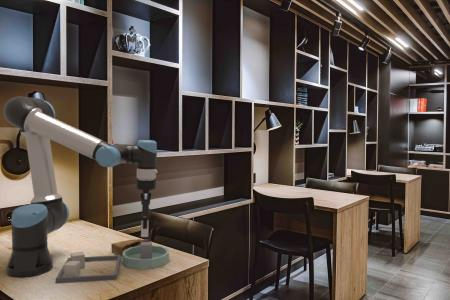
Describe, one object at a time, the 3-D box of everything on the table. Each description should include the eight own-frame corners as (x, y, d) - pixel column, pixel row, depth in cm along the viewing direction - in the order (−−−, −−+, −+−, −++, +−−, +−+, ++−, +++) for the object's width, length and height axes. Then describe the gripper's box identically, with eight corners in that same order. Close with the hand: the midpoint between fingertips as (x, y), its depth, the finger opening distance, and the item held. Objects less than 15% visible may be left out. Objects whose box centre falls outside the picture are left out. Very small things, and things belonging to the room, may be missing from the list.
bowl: (121, 270, 141) (121, 261, 141) (124, 254, 159) (124, 246, 158) (169, 267, 145) (169, 258, 144) (167, 252, 162) (167, 244, 162)
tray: (55, 283, 128) (55, 278, 128) (68, 261, 149) (68, 257, 149) (116, 279, 132) (116, 274, 132) (120, 258, 153) (120, 255, 153)
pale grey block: (72, 269, 141) (72, 256, 141) (70, 265, 145) (70, 253, 144) (84, 267, 143) (84, 254, 143) (82, 263, 147) (82, 251, 147)
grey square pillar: (140, 260, 149) (140, 245, 149) (140, 256, 153) (140, 242, 153) (151, 259, 150) (152, 244, 150) (151, 256, 154) (151, 241, 154)
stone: (117, 258, 155) (117, 245, 154) (110, 251, 162) (110, 240, 162) (151, 252, 163) (152, 240, 163) (143, 246, 171) (143, 235, 170)
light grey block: (64, 278, 132) (64, 264, 132) (69, 274, 136) (69, 260, 136) (75, 279, 132) (75, 265, 132) (80, 274, 136) (80, 261, 136)
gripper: (156, 184, 138) (154, 240, 139) (155, 175, 163) (153, 223, 164) (135, 183, 137) (134, 241, 138) (137, 174, 161) (136, 223, 162)
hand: (144, 231), depth 151 cm, fingers open, 13 cm apart
